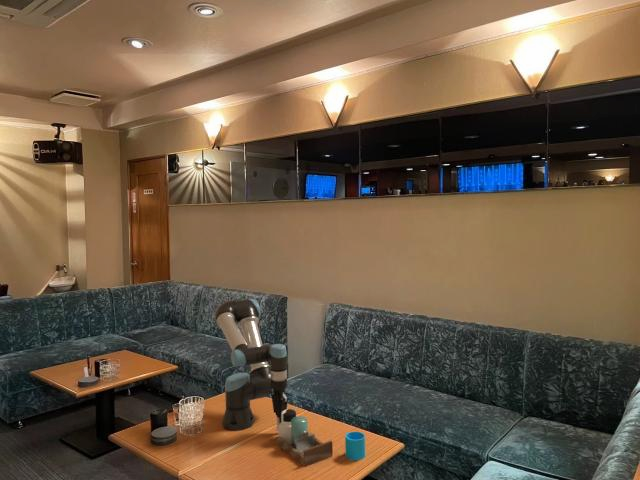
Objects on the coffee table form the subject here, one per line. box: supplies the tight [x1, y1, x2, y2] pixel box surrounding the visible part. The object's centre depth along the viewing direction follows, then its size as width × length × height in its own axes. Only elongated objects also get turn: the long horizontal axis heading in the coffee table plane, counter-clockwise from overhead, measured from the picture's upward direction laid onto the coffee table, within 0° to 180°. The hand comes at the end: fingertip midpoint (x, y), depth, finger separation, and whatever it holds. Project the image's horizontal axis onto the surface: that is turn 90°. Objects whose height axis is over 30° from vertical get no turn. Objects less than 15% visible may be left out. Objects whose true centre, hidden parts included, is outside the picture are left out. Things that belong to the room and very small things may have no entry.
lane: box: [275, 432, 334, 467], centre depth 194 cm, size 23×13×6 cm, turn 35°
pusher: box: [295, 431, 316, 454], centre depth 193 cm, size 1×9×8 cm, turn 125°
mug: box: [344, 431, 366, 461], centre depth 191 cm, size 12×8×8 cm
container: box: [277, 408, 297, 445], centre depth 204 cm, size 8×8×13 cm
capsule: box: [291, 415, 309, 448], centre depth 197 cm, size 7×7×12 cm
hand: (280, 429), depth 211 cm, fingers closed
